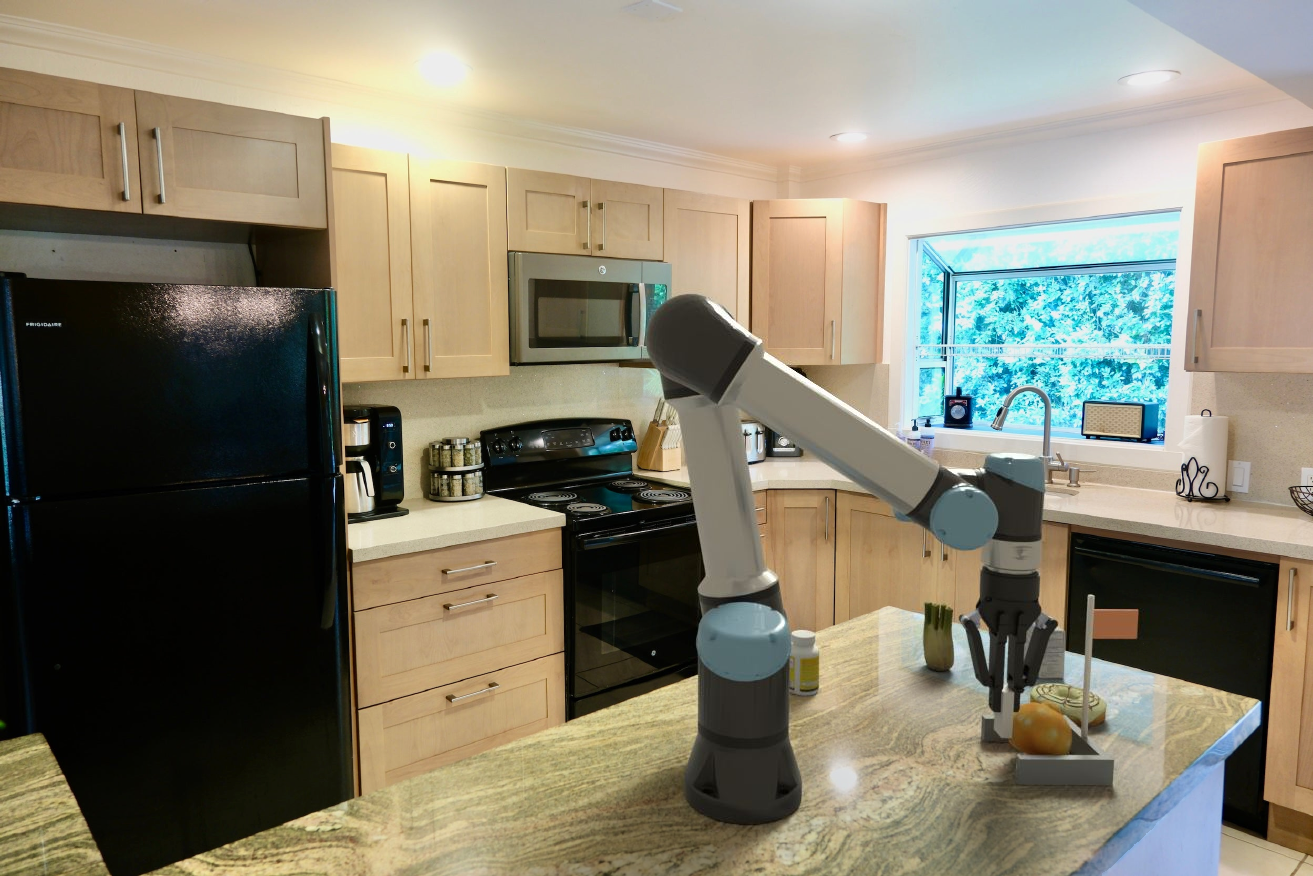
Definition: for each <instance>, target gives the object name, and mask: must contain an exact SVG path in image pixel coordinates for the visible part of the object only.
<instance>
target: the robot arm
mask: <svg viewBox="0 0 1313 876" xmlns="http://www.w3.org/2000/svg"><path fill="white" fill-rule="evenodd" d="M645 347H646V351H647V355H648V357H649V359H650V361H651V364H652V365H653V366H654V368H656V370H657V371H658V372H659V377H660V382H661V387H662V392H663V393H662V394H663V397H664V402H665V403H666V404H667V405H668V406H670V407H671V408H673V409H674V410H675V412H677V417H678V421H679V422H678V423H679V427H680V432H681V433H680V435H681V439H682V440H681V441H682V446H683V450H684V457H685V462H686V467H687V468H686V469H687V474H688V479H689V485H690V492H691V496H692V497H691V498H692V502H693V507H694V508H693V509H694V514H695V519H696V520H695V521H696V526H697V531H698V537H699V543H700V548H701V554H702V561H703V565H704V572H705V576H704V578H703V579H702V581H701V582H700V584H699V585H698V587H697V593H698V597H699V598H698V599H699V604H700V611H701V616H702V618H701V619H700V622H699V624H698V630H697V635H696V639H695V641H696V642H695V645H696V650H697V733H696V736H695V739H694V742H693V746H692V749H691V751H690V755H689V757H688V761H687V763H686V766H685V769H684V775H683V792H684V797H685V798H686V801H687V802H688V803H689V805H690V806H691V807H693V808H694V809H695V810H696V811H698V812H700V813H701V814H703V815H705V816H706V817H709V818H712V819H715V820H719V821H721V822H726V823H732V824H741V825H742V824H743V825H757V824H758V825H759V824H764V823H770V822H774V821H777V820H780V819H783V818H785V817H787V816H789V815H791V814H792V813H794V811H796V810H797V809H798V807H799V806H800V804H801V802H802V798H803V779H802V774H801V772H800V769H799V765H798V763H797V758H796V755H795V753H794V749H793V746H792V743H791V740H790V731H789V729H790V728H789V727H790V723H789V722H790V692H789V681H790V653H791V647H792V642H791V634H790V633H791V631H790V625H789V619H788V616H787V615H788V614H787V613H786V609H784V604H783V598H782V597H783V596H782V591H781V587H780V580H779V576H778V574H777V573H776V572H774V571H773V570H772V569H770V568H769V567H767V566H766V562H765V561H766V560H765V558H764V557H765V554H764V549H763V544H762V543H763V542H762V537H761V532H760V527H759V521H758V515H757V514H758V513H757V509H756V508H757V507H756V503H755V497H754V490H753V485H752V479H751V474H750V467H749V461H748V454H747V449H746V443H745V437H744V432H743V425H742V420H741V413H740V410H741V411H742V412H744V413H745V414H747V415H748V416H750V417H752V418H753V419H755V420H756V421H758V422H759V423H761V424H762V425H764V426H766V427H767V428H768V429H770V430H772V431H773V432H775V433H776V434H778V435H780V436H781V437H783V438H784V439H785V440H787V441H789V442H790V443H791V444H793V445H795V446H797V447H798V448H799V449H801V450H803V451H805V453H807V454H809V455H810V456H811V457H814V458H815V459H817V460H818V461H820V462H821V463H823V464H824V465H826V466H828V467H829V468H831V469H832V470H834V471H835V472H837V473H838V474H841V476H843V477H845V478H846V479H848V480H850V481H851V482H852V483H855V485H858V486H859V487H861V488H862V489H863V490H865V491H867V493H870V494H871V495H873V496H875V497H876V498H878V499H879V500H881V501H882V502H884V503H885V504H887V505H888V506H890V507H892V514H893V516H894V518H895V519H896V520H897V521H898V522H905V523H906V522H907V523H912V524H915V525H918V526H920V527H921V528H923V529H925V530H927V531H928V532H930V533H931V534H933V536H934V537H935V539H936V540H937V541H939V542H940V543H942V544H943V545H946V546H947V547H949V548H950V549H954V550H957V551H963V552H964V551H974V550H978V549H980V548H981V550H980V561H981V563H982V564H983V565H982V566H981V567H980V570H979V571H980V572H979V575H980V576H979V598H978V600H977V602H976V604H975V609H974V610H973V611H971V612H969V613H967V614H965V613H961V614H960V615H959V616H958V620H959V622H960V624H961V625H962V628H963V629H964V630H965V633H966V638H967V644H968V648H969V653H970V657H971V662H972V667H973V672H974V676H975V679H976V680H977V681H978V682H979V683H980V684H981V685H982V686H983V687H985V688H986V687H988V707H989V709H990V710H991V711H992V712H993V713H994V714H993V715H994V730H995V731H996V732H997V733H998V735H999V736H1000V737H1001V738H1012V730H1013V712H1019V710H1020V706H1021V694H1023V693H1024V692H1025V691H1026V689H1025V688H1027V687H1029V688H1032V687H1035V686H1036V683H1037V680H1038V679H1039V677H1038V674H1039V671H1040V668H1041V664H1042V661H1043V658H1044V655H1045V651H1046V648H1047V645H1048V641H1049V638H1050V636H1051V634H1052V633H1053V632H1054V630H1055V629H1056V628H1057V626H1058V627H1059V622H1058V620H1057V619H1055V618H1054V617H1052V616H1051V615H1049V614H1046V613H1044V612H1042V610H1043V609H1042V606H1041V604H1040V602H1039V599H1040V591H1041V590H1040V588H1041V573H1040V572H1039V570H1038V569H1039V568H1040V567H1041V565H1042V564H1041V563H1042V543H1043V533H1042V532H1043V519H1044V517H1043V516H1044V507H1045V505H1044V504H1045V494H1046V483H1045V482H1046V480H1045V479H1046V477H1045V476H1046V474H1045V464H1044V461H1043V460H1042V459H1041V458H1040V457H1039V456H1036V455H1033V454H1028V453H1027V454H1026V453H1019V452H1001V453H1000V452H999V453H997V452H995V453H990V454H989V453H988V454H987V455H986V456H985V458H984V463H983V465H982V467H977V468H947V467H945V466H942V465H941V464H939V463H938V462H937V461H935V460H933V459H932V458H930V457H929V456H928V455H926V454H925V453H923V452H921V451H919V450H918V449H916V448H915V447H914V446H911V444H909V443H908V442H906V441H904V440H903V439H901V438H899V437H898V436H896V435H894V434H893V433H891V432H890V431H889V430H887V429H886V428H884V427H883V426H881V425H880V424H877V423H876V422H875V421H873V420H871V419H870V418H868V417H866V416H865V415H864V414H862V413H860V411H857V410H856V409H854V408H853V407H851V406H849V405H848V404H847V403H845V402H843V401H842V400H840V399H839V398H837V397H836V396H834V395H832V394H831V393H829V392H828V391H826V390H825V389H823V388H822V387H820V386H819V385H817V384H815V383H814V382H813V381H810V380H809V379H808V378H806V377H805V376H803V375H801V374H800V373H798V371H797V372H796V371H795V370H793V369H792V368H790V367H789V366H787V365H785V364H784V363H782V362H781V361H779V360H778V359H777V358H775V357H773V356H772V355H770V354H768V352H766V350H765V348H764V343H763V340H762V339H761V338H760V337H757V336H756V335H754V334H753V333H751V332H750V331H749V330H747V329H745V327H743V325H741V324H740V323H738V322H737V321H736V320H735V318H734V316H733V315H732V313H731V312H730V311H729V310H728V309H726V307H725V306H723V305H721V304H720V303H719V302H717V301H716V300H714V299H712V298H710V297H708V296H706V295H702V294H697V293H684V294H679V295H676V296H673V297H671V298H669V299H667V300H665V301H664V302H663V303H662V304H660V305H659V306H658V307H657V308H656V309H655V311H654V312H653V313H652V315H651V316H650V319H649V321H648V323H647V327H646V331H645ZM981 620H982V621H983V623H984V624H985V625H986V627H987V628H988V636H989V648H988V649H989V651H988V663H987V658H986V653H985V649H984V644H983V639H982V635H981V632H980V630H979V629H980V628H981ZM1034 622H1035V625H1036V626H1035V627H1034V630H1033V632H1032V636H1031V639H1030V642H1029V646H1028V649H1027V653H1026V656H1025V659H1024V644H1025V643H1026V635H1027V631H1028V629H1029V628H1030V627H1031V626H1032V624H1033V623H1034ZM1006 644H1007V645H1006ZM1006 646H1007V659H1006ZM1006 660H1007V661H1006ZM1005 662H1006V664H1005ZM1005 665H1006V666H1005ZM1005 667H1006V683H1007V684H1005V683H1004V681H1005Z"/></svg>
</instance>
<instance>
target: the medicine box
mask: <svg viewBox="0 0 1313 876" xmlns="http://www.w3.org/2000/svg"><path fill="white" fill-rule="evenodd" d="M1035 626H1036V625H1035V622H1034V623H1033V624H1032V626H1031V627H1030V628H1029V629H1028V631H1027V635H1026V643H1025V644H1024V659H1025V656H1026V653H1027V649H1028V646H1029V642H1030V639H1031V636H1032V632H1033V630H1034V627H1035ZM1065 651H1066V631H1065V630H1064V629H1063V628H1061V627H1060V626H1059V625H1058V626H1057V628H1056V629H1055V630H1054V632H1053V633H1052V634H1051V636H1050V638H1049V641H1048V645H1047V648H1046V651H1045V655H1044V658H1043V661H1042V664H1041V668H1040V671H1039V674H1038V679H1045V680H1046V679H1050V680H1051V679H1054V680H1055V679H1056V680H1057V679H1064V678H1065V656H1066V655H1065V653H1066V652H1065Z"/></svg>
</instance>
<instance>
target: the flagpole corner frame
mask: <svg viewBox="0 0 1313 876" xmlns="http://www.w3.org/2000/svg"><path fill="white" fill-rule="evenodd" d="M1138 623H1139V609H1095V595H1093V594H1088V595H1087V609H1086V624H1085V626H1086V628H1085V647H1084V666H1083V667H1084V668H1083V669H1084V670H1083V686H1082V687H1083V688H1082V689H1083V704H1082V723H1081V726H1079V725H1076V724H1075V723H1073V722H1072V721H1071V720H1070V719H1069V718H1068V717H1067V716H1066V715H1063V717H1064V718H1065V719H1066V720H1067V722H1068V723H1069V726H1070V729H1071V732H1072V744H1071V748H1070V751H1069V753H1071V754H1067V755H1027V754H1016V758H1015V759H1016V761H1015V778H1014V779H1015V781H1016V783H1017V784H1018V785H1019V786H1022V785H1023V786H1024V785H1025V786H1030V785H1031V786H1033V785H1035V786H1114V774H1115V773H1114V770H1115V769H1114V768H1115V759H1114V758H1113V757H1112V756H1111V755H1110V754H1108V753H1107V752H1106V751H1105V750H1104V749H1103V748H1102V747H1101V746H1100V745H1099V744H1098V743H1096V742H1095V741H1094V739H1092V738H1091V737H1090V736H1089V735H1088V734H1089V733H1088V731H1089V729H1088V728H1089V726H1088V714H1089V695H1090V692H1091V690H1090V689H1091V674H1092V657H1093V653H1092V652H1093V651H1092V650H1093V639H1095V640H1096V639H1097V640H1098V639H1099V640H1101V639H1102V640H1106V639H1107V640H1108V639H1109V640H1111V639H1113V640H1119V639H1121V640H1129V639H1130V640H1135V639H1136V640H1137V639H1138V627H1139V624H1138ZM980 730H981V731H980V733H981V734H980V739H983V740H982V741H983V742H984V741H985V742H986V741H987V742H988V741H989V743H990V741H991V743H992V741H993V742H994V741H995V742H996V743H997V742H1003V743H1005V742H1007V743H1010V742H1009V740H1008V738H1001V737H1000V736H999V735H998V733H997V732H996V731H995V730H994V714H981V729H980ZM985 742H984V743H985Z"/></svg>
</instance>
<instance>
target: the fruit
mask: <svg viewBox="0 0 1313 876" xmlns="http://www.w3.org/2000/svg"><path fill="white" fill-rule="evenodd" d="M1008 740H1009V742H1008V743H1010V745H1011V746H1012V747H1014V749H1017V750H1018V751H1020V752H1021V753H1023V754H1024V755H1069V753H1070V748H1071V744H1072V732H1071V729H1070V726H1069V723H1068V722H1067V720H1066V719H1065V718H1064V717H1063V714H1062V712H1061V710H1060V709H1059V707H1058V706H1056V705H1055V704H1053V703H1050V702H1046V701H1044V702H1043V703H1041V704H1039V703H1035V702H1033V703H1030V702H1027V703H1023V704H1020V710H1019V712H1013V730H1012V738H1008Z"/></svg>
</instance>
